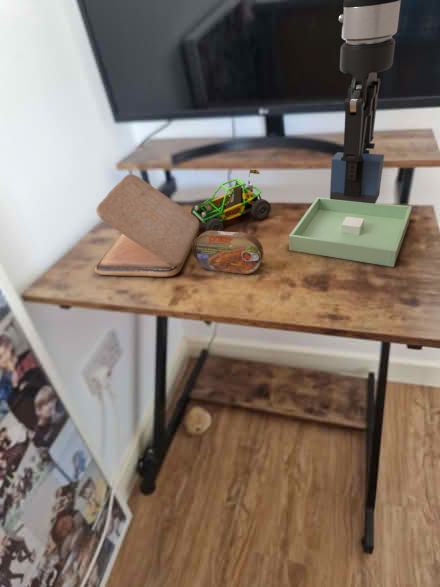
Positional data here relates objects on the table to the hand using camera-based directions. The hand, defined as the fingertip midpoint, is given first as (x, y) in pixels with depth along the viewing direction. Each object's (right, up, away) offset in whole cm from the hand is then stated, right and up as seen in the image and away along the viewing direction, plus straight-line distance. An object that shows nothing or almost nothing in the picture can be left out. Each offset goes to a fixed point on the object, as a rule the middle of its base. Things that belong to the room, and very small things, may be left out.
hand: (354, 190), depth 73 cm
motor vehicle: (-22, 0, +30) cm, 37 cm away
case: (-41, -9, +22) cm, 47 cm away
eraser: (0, -1, +1) cm, 1 cm away
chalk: (+5, -4, +17) cm, 19 cm away
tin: (-22, -14, +12) cm, 29 cm away
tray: (+5, -6, +16) cm, 18 cm away
